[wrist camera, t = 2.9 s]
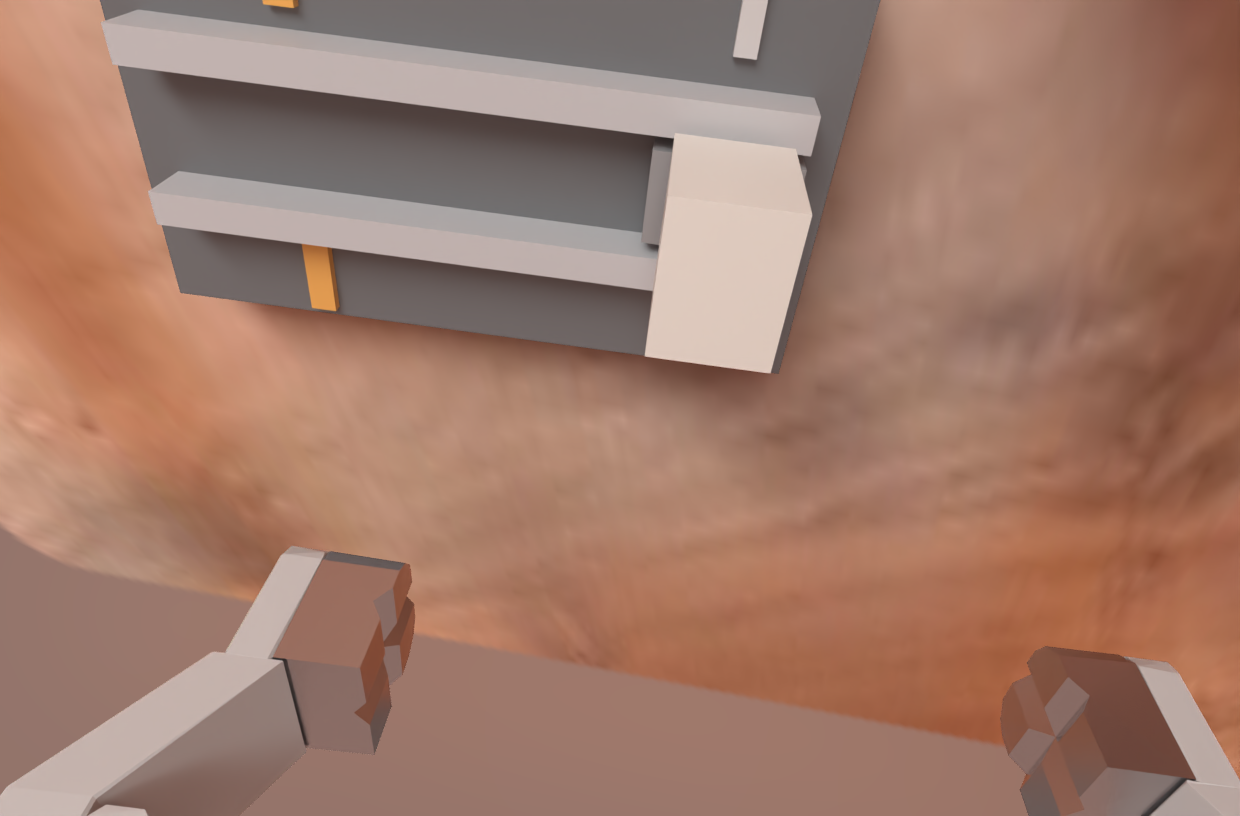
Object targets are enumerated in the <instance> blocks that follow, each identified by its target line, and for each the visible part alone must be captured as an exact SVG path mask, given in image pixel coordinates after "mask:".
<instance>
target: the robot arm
mask: <svg viewBox="0 0 1240 816" xmlns="http://www.w3.org/2000/svg"><path fill="white" fill-rule="evenodd" d="M411 583H412V576H411V569H410V564H407V563H401V562H395V561H388V560H382V559H376V558H370V557H363V556H357V555H351V554H344V553H338V552H332V551H324V550H317V549H310V548H303V547H296V546H291V547H290V548H289V549H288V550H287V551H285V552H284V553H283V554H282V555H281V556H280V558H279V560H278V561H277V563H276V565H275V567H274V568H273V570H272V572H271V574H270V575H269V577H268V579H267V580H266V582H265V584H264V586H263V587H262V589H261V591H260V593H259V594H258V596H257V598H256V600H255V601H254V603H253V605H252V606H251V608H250V610H249V612H248V613H247V615H246V617H245V619H244V621H243V622H242V624H241V626H240V627H239V629H238V631H237V633H236V634H235V636H234V638H233V640H232V641H231V643H230V645H229V646H228V648H227V650H226V652H216V651H213V652H211V653H210V654H208V655H206V656H205V657H203V658H202V659H201V660H199V661H197V662H196V663H194V664H193V665H191V666H190V667H188V668H187V669H185V670H184V671H182V672H181V673H179V674H178V675H176V676H175V677H173V678H172V679H170V680H168V681H167V682H165V683H164V684H162V685H161V686H159V687H158V688H156V689H155V690H153V691H152V692H150V693H149V694H147V695H146V696H144V697H143V698H141V699H140V700H138V701H137V702H135V703H134V704H132V705H131V706H129V707H128V708H126V709H124V710H123V711H121V712H120V713H118V714H117V715H115V716H114V717H112V718H111V719H109V720H108V721H106V722H105V723H103V724H102V725H100V726H99V727H97V728H96V729H94V730H92V731H91V732H90V733H88V734H86V735H85V736H83V737H82V738H80V739H79V740H77V741H76V742H74V743H73V744H71V745H70V746H68V747H67V748H65V749H64V750H62V751H61V752H59V753H57V754H56V755H55V756H53V757H51V758H50V759H48V760H47V761H45V762H44V763H42V764H41V765H39V766H38V767H36V768H35V769H33V770H32V771H30V772H29V773H27V774H26V775H24V776H23V777H21V778H19V779H18V780H16V781H15V782H13V783H12V784H10V785H9V786H7V787H6V789H5V790H4V792H3V793H2V794H1V796H0V816H240V815H241V814H242V813H243V812H244V811H245V810H246V809H247V808H248V807H249V806H250V805H251V804H252V803H253V802H254V801H255V800H256V799H258V798H259V797H260V796H261V795H262V794H263V793H264V792H265V791H266V790H267V789H268V788H269V787H270V786H271V785H272V784H273V783H274V782H275V781H276V780H277V779H279V778H280V777H281V776H282V775H283V774H284V773H285V772H286V771H287V770H288V769H289V768H290V767H291V766H292V765H293V764H294V763H295V762H296V761H297V760H299V759H300V758H301V757H302V756H303V755H304V754H305V753H306V748H315V749H325V750H333V751H343V752H352V753H362V754H372V755H374V754H375V751H376V749H377V746H378V743H379V740H380V737H381V735H382V732H383V729H384V726H385V723H386V721H387V718H388V715H389V712H390V709H391V707H392V706H391V697H390V688H389V685H391V684H392V683H393V682H394V681H396V680H397V679H398V678H399V677H401V676H402V675H403V672H404V669H405V666H406V663H407V660H408V657H409V653H410V649H411V644H412V639H413V634H414V624H415V609H414V603H413V602H412V601H411V600H410V599H409V598H408V597H407V594H408V591H409V589H410V586H411ZM1027 664H1028V667H1029V670H1030V672H1031V675H1029V676H1027V677H1025V678H1023V679H1020V680H1018V681H1016V682H1014V683H1012V685H1011V687H1010V688H1009V690H1008V692H1007V693H1006V695H1005V697H1004V698H1003V704H1002V711H1001V718H1000V720H1001V728H1002V736H1003V739H1004V743H1005V746H1006V749H1007V752H1008V755H1009V756H1010V757H1011V759H1013V760H1014V762H1016V764H1017V765H1018V766H1019V767H1020V768H1021V769H1022V770H1023V771H1024V772H1025V773H1026V776H1025V778H1024V781H1023V783H1022V786H1021V788H1020V792H1021V795H1022V797H1023V800H1024V803H1025V806H1026V809H1027V812H1028V815H1029V816H1240V780H1239V778H1238V776H1237V774H1236V773H1235V771H1234V769H1233V767H1232V766H1231V764H1230V762H1229V760H1228V759H1227V757H1226V755H1225V753H1224V752H1223V750H1222V748H1221V746H1220V745H1219V743H1218V741H1217V739H1216V738H1215V736H1214V734H1213V732H1212V731H1211V729H1210V727H1209V725H1208V724H1207V722H1206V720H1205V718H1204V717H1203V715H1202V713H1201V711H1200V710H1199V708H1198V706H1197V704H1196V703H1195V701H1194V699H1193V697H1192V696H1191V694H1190V692H1189V690H1188V689H1187V687H1186V685H1185V683H1184V682H1183V680H1182V678H1181V676H1180V674H1179V673H1178V672H1177V670H1176V669H1174V668H1173V667H1172V666H1171V665H1170V664H1169V663H1167V662H1162V661H1155V660H1147V659H1140V658H1132V657H1122V656H1120V655H1115V654H1107V653H1098V652H1090V651H1081V650H1073V649H1064V648H1056V647H1048V646H1045V647H1043V648H1041V649H1038V650H1036V651H1035V652H1034V654H1033V655H1032V656H1031V658H1030V659H1029V660H1028V662H1027Z"/></svg>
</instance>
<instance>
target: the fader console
mask: <svg viewBox="0 0 1240 816" xmlns="http://www.w3.org/2000/svg"><path fill="white" fill-rule="evenodd" d="M100 2H101V6H102V9H103V13H104V17H105V20H106V21H103V22H101V24H102V28H103V32H104V35H105V39H106V42H107V46H108V50H109V53H110V57H111V60H112V64H113V65H118V68H119V71H120V75H121V79H122V82H123V86H124V89H125V93H126V97H127V100H128V104H129V108H130V111H131V115H132V118H133V122H134V126H135V129H136V133H137V137H138V140H139V144H140V148H141V151H142V155H143V158H144V162H145V166H146V169H147V173H148V177H149V180H150V184H151V188H152V189H151V190H149V191H148V193H149V197H150V200H151V204H152V207H153V211H154V214H155V218H156V222H157V224H158V225H162V227H163V231H164V235H165V238H166V242H167V246H168V249H169V253H170V257H171V260H172V264H173V267H174V271H175V275H176V278H177V282H178V286H179V289H180V293H186V294H193V295H201V296H208V297H215V298H223V299H230V300H237V301H245V302H252V303H260V304H267V305H274V306H282V307H289V308H296V309H304V310H311V311H319V312H326V313H333V314H341V315H348V316H356V317H363V318H370V319H378V320H385V321H392V322H400V323H407V324H415V325H422V326H429V327H437V328H444V329H452V330H459V331H466V332H474V333H481V334H488V335H496V336H503V337H511V338H518V339H525V340H533V341H540V342H548V343H555V344H562V345H570V346H577V347H584V348H592V349H599V350H607V351H614V352H621V353H629V354H636V355H644V356H645V349H646V341H647V333H648V325H649V317H650V309H651V301H652V293H653V285H654V277H655V270H656V263H657V256H658V248H659V245H656V244H649V243H641V239H642V231H643V223H644V215H645V207H646V199H647V191H648V183H649V175H650V167H651V159H652V151H653V145H654V140H655V136H659V137H667V138H674V135H675V133H679V134H687V135H694V136H702V137H709V138H717V139H725V140H732V141H740V142H747V143H755V144H763V145H770V146H778V147H785V148H793V149H796V151H797V155H803V158H804V162H805V166H806V169H807V172H806V176H805V180H804V183H805V187H806V191H807V195H808V199H809V203H810V207H811V211H812V218H811V222H810V226H809V230H808V233H807V237H806V241H805V245H804V249H803V252H802V256H801V260H800V264H799V267H798V271H797V275H796V279H795V283H794V286H793V290H792V294H791V298H790V301H789V305H788V309H787V313H786V317H785V320H784V324H783V328H782V332H781V335H780V339H779V343H778V347H777V351H776V354H775V358H774V362H773V366H772V370H771V373H776V374H779V370H780V367H781V363H782V359H783V356H784V352H785V348H786V345H787V341H788V337H789V334H790V330H791V326H792V322H793V319H794V315H795V311H796V308H797V304H798V300H799V297H800V293H801V289H802V286H803V282H804V278H805V275H806V271H807V267H808V264H809V260H810V256H811V253H812V249H813V245H814V242H815V238H816V234H817V231H818V227H819V223H820V220H821V216H822V212H823V209H824V205H825V201H826V198H827V194H828V190H829V187H830V183H831V179H832V176H833V172H834V168H835V165H836V161H837V157H838V154H839V150H840V146H841V143H842V139H843V135H844V132H845V128H846V124H847V121H848V117H849V113H850V110H851V106H852V102H853V99H854V95H855V91H856V88H857V84H858V80H859V77H860V73H861V69H862V66H863V62H864V58H865V55H866V51H867V47H868V44H869V40H870V36H871V32H872V29H873V25H874V21H875V18H876V14H877V10H878V7H879V3H880V0H100Z"/></svg>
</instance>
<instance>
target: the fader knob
mask: <svg viewBox="0 0 1240 816" xmlns="http://www.w3.org/2000/svg"><path fill="white" fill-rule="evenodd" d="M806 172H807V169H806V166H805V162H804V158H803V155H797V151H796V149H793V148H785V147H778V146H770V145H763V144H755V143H747V142H740V141H732V140H725V139H717V138H709V137H702V136H694V135H687V134H679V133H675V135H674V138H667V137H659V136H655V140H654V145H653V151H652V159H651V167H650V175H649V183H648V191H647V199H646V207H645V215H644V223H643V231H642V239H641V243H649V244H656V245H659V248H658V256H657V263H656V270H655V277H654V285H653V293H652V301H651V309H650V317H649V325H648V333H647V341H646V349H645V357H652V358H659V359H667V360H674V361H682V362H689V363H696V364H704V365H711V366H718V367H726V368H733V369H741V370H748V371H755V372H763V373H771V370H772V366H773V362H774V358H775V354H776V351H777V347H778V343H779V339H780V335H781V332H782V328H783V324H784V320H785V317H786V313H787V309H788V305H789V301H790V298H791V294H792V290H793V286H794V283H795V279H796V275H797V271H798V267H799V264H800V260H801V256H802V252H803V249H804V245H805V241H806V237H807V233H808V230H809V226H810V222H811V218H812V211H811V207H810V203H809V199H808V195H807V191H806V187H805V183H804V180H805V176H806Z"/></svg>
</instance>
